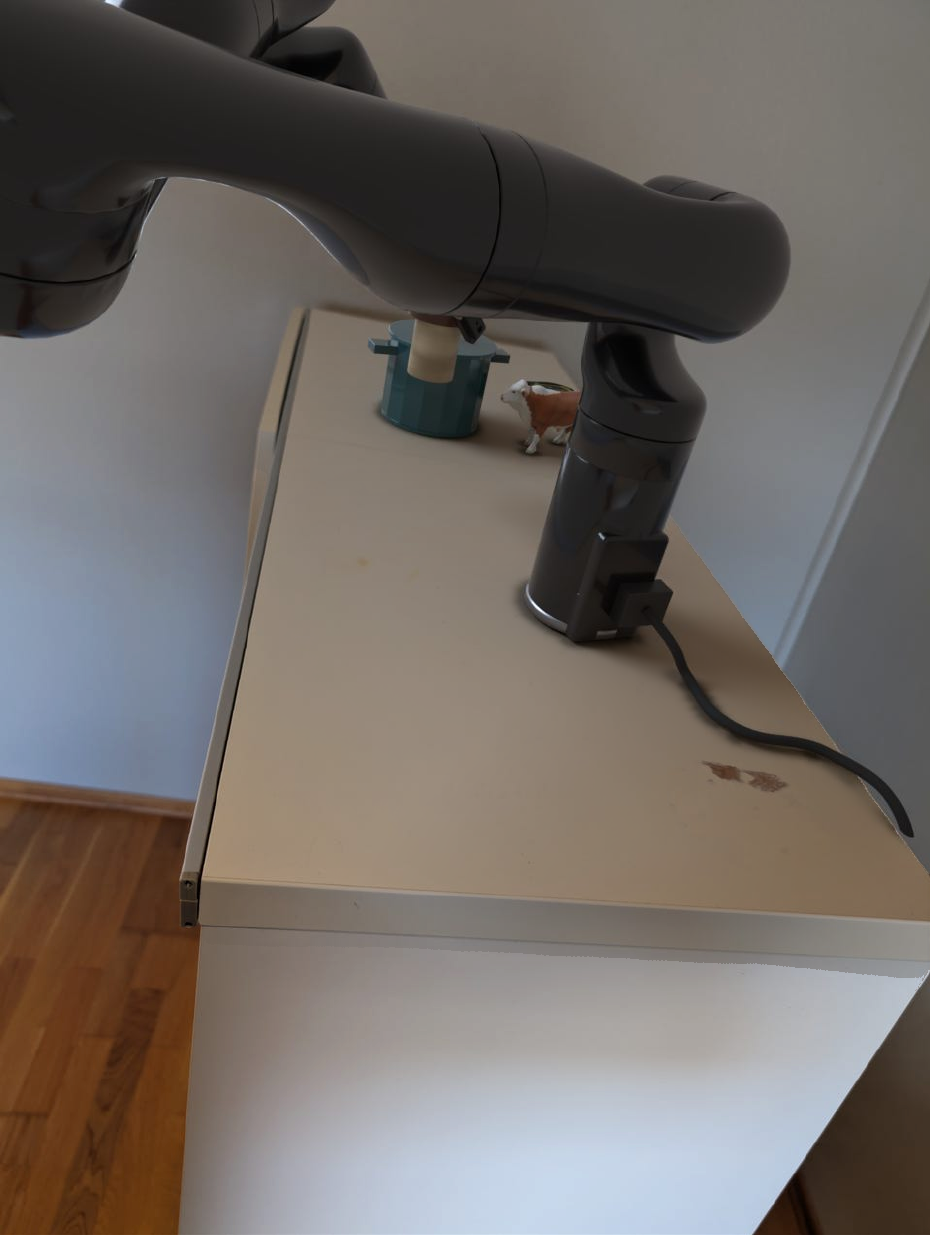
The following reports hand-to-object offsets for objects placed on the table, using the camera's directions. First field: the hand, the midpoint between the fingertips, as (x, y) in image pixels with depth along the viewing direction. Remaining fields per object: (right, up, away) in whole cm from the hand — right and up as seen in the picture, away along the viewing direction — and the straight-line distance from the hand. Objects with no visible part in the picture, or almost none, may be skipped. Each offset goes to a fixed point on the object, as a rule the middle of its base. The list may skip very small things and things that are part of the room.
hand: (451, 324), depth 81 cm
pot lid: (-1, +5, +20) cm, 20 cm away
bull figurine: (+11, -7, +24) cm, 27 cm away
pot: (-3, -3, +25) cm, 25 cm away
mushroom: (-2, -4, +1) cm, 5 cm away
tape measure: (+12, 0, +35) cm, 37 cm away
